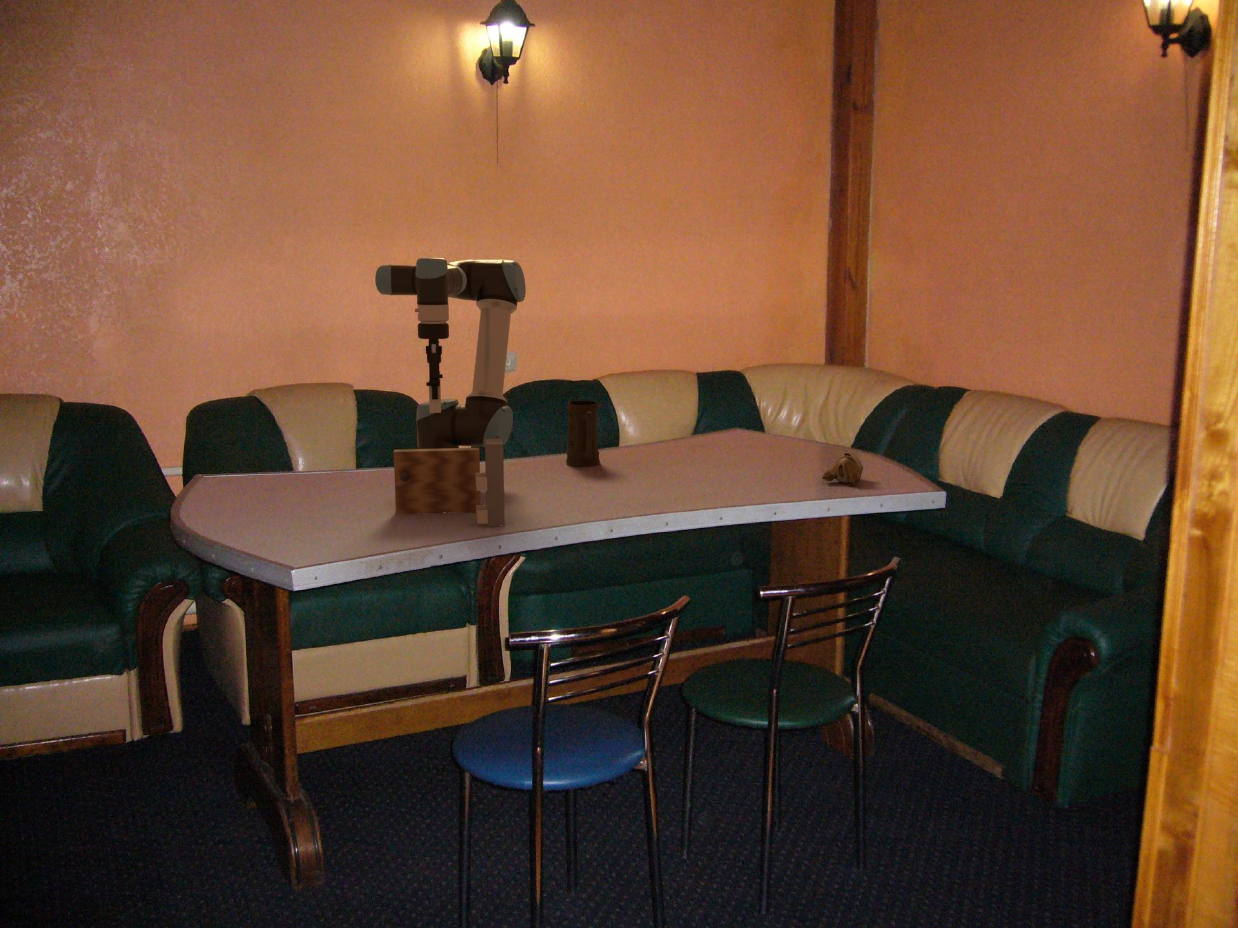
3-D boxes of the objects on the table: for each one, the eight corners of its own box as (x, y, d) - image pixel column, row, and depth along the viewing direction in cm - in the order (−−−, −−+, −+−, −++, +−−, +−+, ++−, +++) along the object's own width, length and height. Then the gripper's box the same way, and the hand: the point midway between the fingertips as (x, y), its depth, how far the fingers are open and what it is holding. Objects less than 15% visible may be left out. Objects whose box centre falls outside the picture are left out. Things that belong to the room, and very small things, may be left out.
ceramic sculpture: (871, 449, 311) (857, 461, 298) (870, 478, 313) (856, 491, 300) (835, 446, 315) (820, 457, 303) (835, 474, 318) (819, 487, 305)
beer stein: (560, 461, 335) (561, 399, 330) (590, 458, 339) (592, 398, 334) (578, 473, 322) (580, 409, 317) (610, 470, 326) (612, 407, 321)
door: (395, 516, 265) (393, 453, 262) (396, 512, 270) (394, 449, 267) (480, 513, 269) (479, 450, 266) (480, 509, 273) (479, 447, 270)
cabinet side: (477, 527, 255) (475, 445, 251) (476, 519, 263) (474, 439, 259) (504, 526, 256) (503, 444, 252) (502, 518, 264) (501, 438, 260)
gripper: (418, 319, 272) (420, 401, 276) (416, 325, 248) (419, 416, 252) (448, 319, 273) (450, 401, 277) (449, 325, 249) (451, 415, 253)
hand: (435, 408), depth 265 cm, fingers open, 13 cm apart
